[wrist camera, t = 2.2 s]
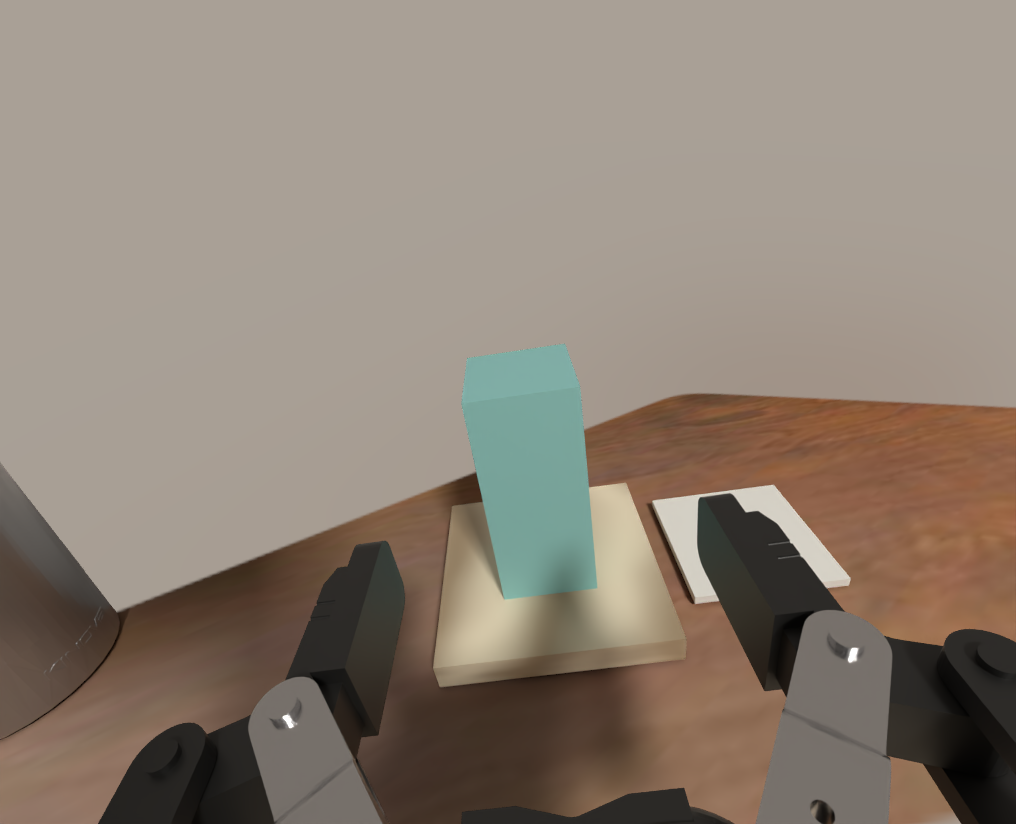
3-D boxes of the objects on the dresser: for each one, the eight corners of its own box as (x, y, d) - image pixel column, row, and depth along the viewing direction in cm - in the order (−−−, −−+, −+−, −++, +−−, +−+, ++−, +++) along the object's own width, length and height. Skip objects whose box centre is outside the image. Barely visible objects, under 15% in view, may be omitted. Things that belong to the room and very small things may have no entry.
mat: (694, 603, 26) (695, 597, 26) (652, 506, 33) (652, 500, 33) (849, 585, 26) (850, 578, 25) (772, 490, 33) (773, 484, 32)
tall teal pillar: (504, 599, 26) (461, 403, 21) (502, 534, 31) (467, 358, 25) (597, 588, 26) (579, 386, 20) (582, 524, 30) (564, 343, 25)
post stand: (439, 687, 24) (407, 596, 21) (456, 522, 35) (436, 445, 32) (685, 659, 24) (689, 560, 20) (626, 500, 34) (623, 419, 31)
